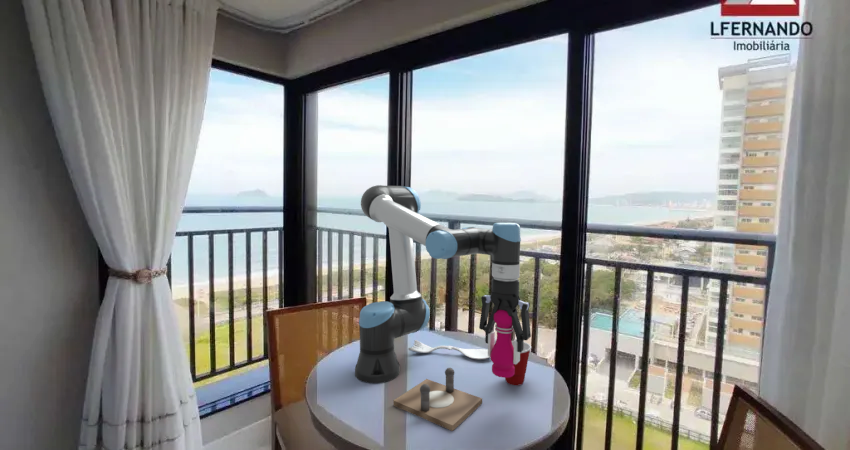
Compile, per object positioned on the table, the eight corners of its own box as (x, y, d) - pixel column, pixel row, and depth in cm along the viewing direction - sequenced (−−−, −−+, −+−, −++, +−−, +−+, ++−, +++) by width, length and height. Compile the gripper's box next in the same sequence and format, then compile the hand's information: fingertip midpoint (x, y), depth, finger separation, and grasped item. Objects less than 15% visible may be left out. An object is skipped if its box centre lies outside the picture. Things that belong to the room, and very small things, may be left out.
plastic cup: (506, 370, 125) (506, 336, 125) (536, 379, 118) (536, 343, 118) (490, 382, 117) (490, 346, 116) (522, 393, 110) (522, 354, 109)
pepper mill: (516, 380, 98) (518, 307, 97) (489, 377, 99) (491, 305, 98) (515, 368, 105) (517, 300, 104) (490, 365, 107) (492, 298, 105)
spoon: (414, 347, 147) (414, 338, 147) (494, 354, 139) (494, 345, 139) (408, 356, 138) (408, 347, 138) (492, 364, 131) (492, 355, 130)
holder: (393, 405, 104) (393, 376, 103) (426, 383, 116) (426, 357, 116) (452, 431, 92) (452, 398, 91) (482, 403, 104) (482, 375, 104)
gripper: (467, 275, 103) (466, 353, 105) (536, 286, 92) (533, 373, 93) (479, 271, 109) (478, 345, 111) (545, 280, 98) (543, 363, 99)
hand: (503, 358), depth 102 cm, fingers closed on pepper mill, 7 cm apart
